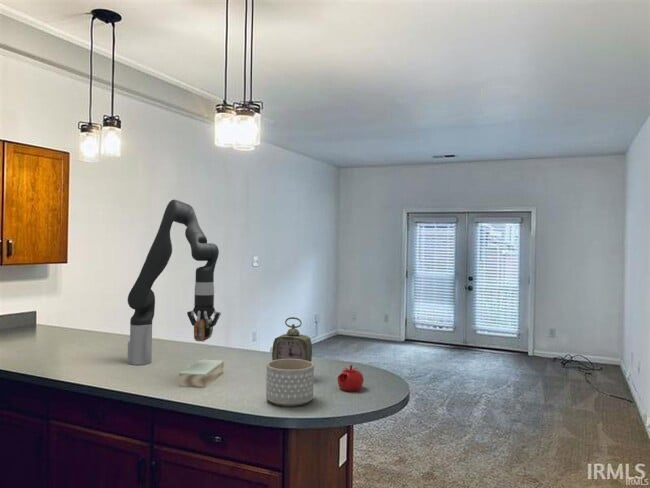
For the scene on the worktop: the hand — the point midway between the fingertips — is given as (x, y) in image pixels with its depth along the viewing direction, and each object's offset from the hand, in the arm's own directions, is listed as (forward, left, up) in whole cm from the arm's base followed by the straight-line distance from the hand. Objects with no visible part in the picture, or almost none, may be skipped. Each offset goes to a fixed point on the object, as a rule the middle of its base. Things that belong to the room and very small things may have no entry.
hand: (203, 336), depth 201 cm
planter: (+39, -20, -17) cm, 47 cm away
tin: (0, 0, -1) cm, 1 cm away
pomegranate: (+59, -2, -17) cm, 61 cm away
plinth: (0, 0, -17) cm, 17 cm away
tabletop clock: (+35, +7, -17) cm, 39 cm away
